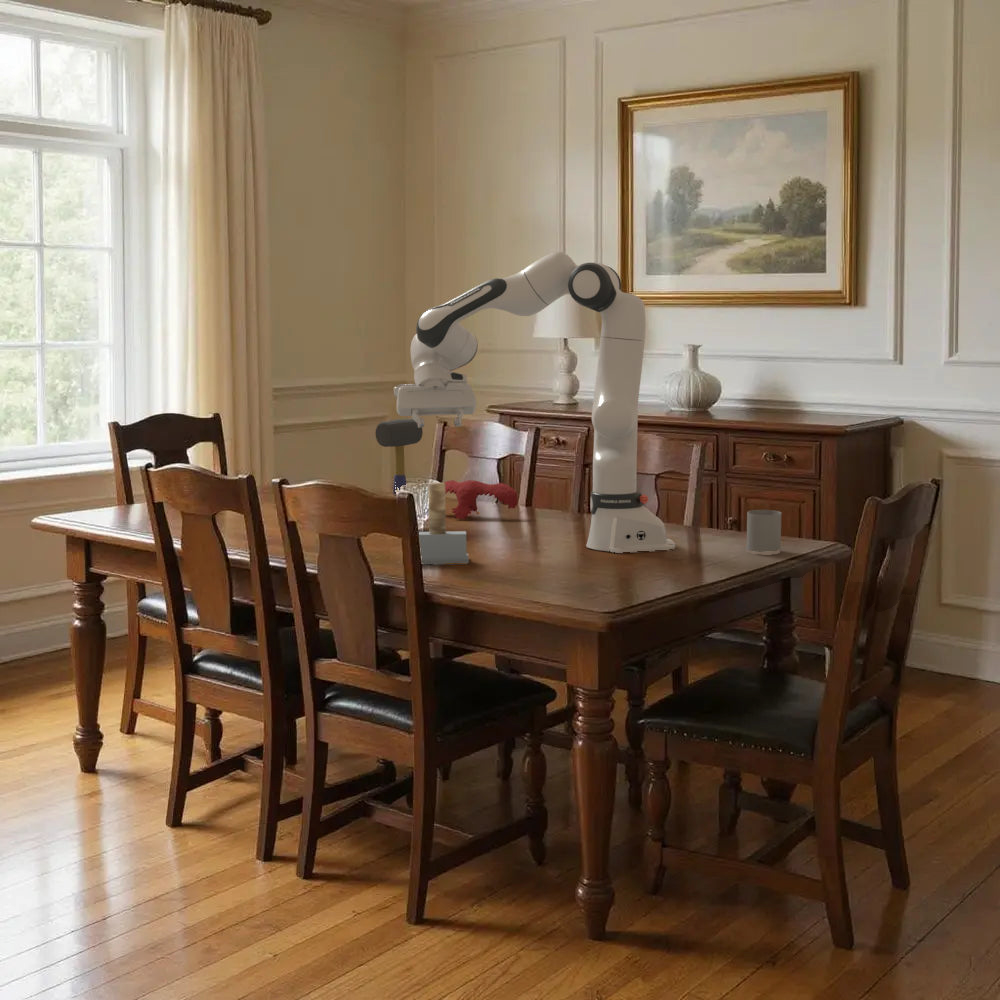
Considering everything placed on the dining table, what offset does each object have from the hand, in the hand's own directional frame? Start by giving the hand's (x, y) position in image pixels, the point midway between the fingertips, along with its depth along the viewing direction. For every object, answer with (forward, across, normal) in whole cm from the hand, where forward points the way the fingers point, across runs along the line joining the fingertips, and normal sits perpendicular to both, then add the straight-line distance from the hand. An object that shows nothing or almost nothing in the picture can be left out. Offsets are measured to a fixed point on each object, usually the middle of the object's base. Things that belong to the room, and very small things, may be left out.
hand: (439, 425), depth 349 cm
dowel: (+29, -4, +5) cm, 30 cm away
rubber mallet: (-2, -5, +47) cm, 47 cm away
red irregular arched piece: (-11, +17, +55) cm, 59 cm away
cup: (+40, +77, +5) cm, 87 cm away
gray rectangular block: (+34, -4, +10) cm, 36 cm away
